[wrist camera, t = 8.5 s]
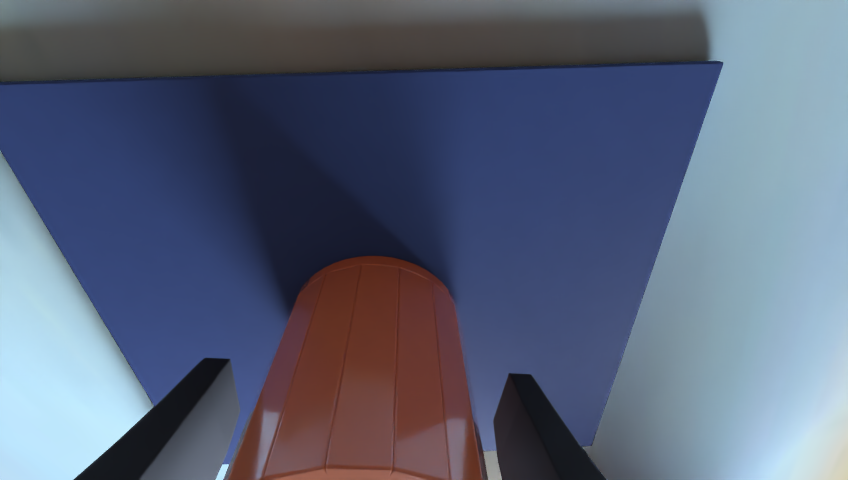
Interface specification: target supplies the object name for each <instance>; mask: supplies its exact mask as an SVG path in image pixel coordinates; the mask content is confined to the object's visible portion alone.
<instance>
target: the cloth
mask: <svg viewBox="0 0 848 480" xmlns="http://www.w3.org/2000/svg"><path fill="white" fill-rule="evenodd" d="M722 66H723V62H720V61H688V62H655V63H621V64H587V65H554V66H520V67H487V68H453V69H419V70H386V71H352V72H319V73H285V74H251V75H218V76H184V77H151V78H117V79H83V80H50V81H16V82H0V151H1V152H2V154H3V156H4V157H5V159H6V161H7V162H8V164H9V166H10V167H11V169H12V171H13V172H14V174H15V176H16V177H17V179H18V181H19V182H20V184H21V186H22V187H23V189H24V191H25V192H26V194H27V196H28V197H29V199H30V201H31V202H32V204H33V206H34V207H35V209H36V211H37V212H38V214H39V215H40V217H41V219H42V220H43V222H44V224H45V225H46V227H47V229H48V230H49V232H50V234H51V235H52V237H53V239H54V240H55V242H56V244H57V245H58V247H59V249H60V250H61V252H62V254H63V255H64V257H65V259H66V260H67V262H68V264H69V265H70V267H71V269H72V270H73V272H74V274H75V275H76V277H77V279H78V280H79V282H80V284H81V285H82V287H83V288H84V290H85V292H86V293H87V295H88V297H89V298H90V300H91V302H92V303H93V305H94V307H95V308H96V310H97V312H98V313H99V315H100V317H101V318H102V320H103V322H104V323H105V325H106V327H107V328H108V330H109V332H110V333H111V335H112V337H113V338H114V340H115V342H116V343H117V345H118V347H119V348H120V350H121V352H122V353H123V355H124V357H125V358H126V360H127V362H128V363H129V365H130V366H131V368H132V370H133V371H134V373H135V375H136V376H137V378H138V380H139V381H140V383H141V385H142V386H143V388H144V390H145V391H146V393H147V395H148V396H149V398H150V400H151V401H152V403H153V405H154V406H155V405H156V404H157V403H159V402H160V401H161V400H162V399H163V398H164V397H165V396H166V395H167V394H168V393H169V392H170V391H171V390H172V389H173V388H174V387H175V386H176V385H177V384H178V383H179V382H180V381H181V380H182V379H183V378H184V377H185V376H186V375H187V374H188V373H189V372H190V371H191V370H192V369H193V368H194V367H195V366H196V365H197V364H198V363H199V362H200V361H201V360H203V359H204V358H223V359H230V360H231V365H232V370H233V375H234V380H235V385H236V390H237V395H238V401H239V406H240V414H239V417H238V420H237V423H236V427H235V430H234V433H233V436H232V439H231V442H230V445H229V448H228V451H227V454H226V456H225V459H224V461H223V463H222V464H230V462H231V459H232V457H233V454H234V451H235V449H236V446H237V444H238V441H239V439H240V436H241V434H242V431H243V429H244V426H245V423H246V421H247V418H248V416H249V413H250V411H251V408H252V406H253V403H254V401H255V398H256V395H257V393H258V390H259V388H260V385H261V383H262V380H263V378H264V375H265V373H266V370H267V367H268V365H269V362H270V360H271V357H272V355H273V352H274V350H275V347H276V345H277V342H278V340H279V337H280V334H281V332H282V329H283V327H284V324H285V322H286V319H287V317H288V315H289V313H290V311H291V309H292V307H293V304H294V302H295V299H296V296H297V294H298V293H299V291H300V289H301V288H302V286H303V285H304V284H305V283H306V282H307V281H308V280H309V279H310V278H311V277H312V276H313V275H314V274H316V273H317V272H319V271H320V270H322V269H323V268H325V267H327V266H329V265H331V264H333V263H336V262H339V261H342V260H345V259H349V258H354V257H360V256H386V257H393V258H397V259H401V260H405V261H408V262H411V263H413V264H416V265H418V266H420V267H422V268H424V269H426V270H427V271H429V272H430V273H432V274H433V275H434V276H436V277H437V278H438V279H439V280H440V281H441V282H442V283H443V284H444V285H445V286H446V288H447V289H448V290H449V292H450V293H451V295H452V297H453V298H454V301H455V303H456V306H457V310H458V315H459V320H460V324H461V327H462V332H463V338H464V343H465V349H466V355H467V361H468V367H469V372H470V378H471V384H472V390H473V396H474V401H475V407H476V413H477V419H478V425H479V430H480V436H481V442H482V448H483V451H497V449H496V442H495V433H494V425H493V419H494V416H495V413H496V410H497V407H498V404H499V401H500V398H501V395H502V392H503V389H504V386H505V383H506V380H507V377H508V374H509V373H516V374H531V375H532V376H533V377H534V379H535V380H536V382H537V383H538V385H539V386H540V388H541V389H542V391H543V392H544V394H545V395H546V397H547V398H548V400H549V401H550V403H551V404H552V406H553V407H554V408H555V410H556V411H557V413H558V414H559V416H560V417H561V419H562V420H563V421H564V423H565V424H566V426H567V427H568V429H569V430H570V431H571V433H572V434H573V436H574V437H575V438H576V440H577V441H578V442H579V444H580V445H581V446H592V443H593V440H594V437H595V434H596V431H597V428H598V426H599V423H600V420H601V417H602V414H603V411H604V408H605V405H606V402H607V399H608V397H609V394H610V391H611V388H612V385H613V382H614V379H615V376H616V373H617V370H618V368H619V365H620V362H621V359H622V356H623V353H624V350H625V347H626V344H627V341H628V339H629V336H630V333H631V330H632V327H633V324H634V321H635V318H636V315H637V312H638V310H639V307H640V304H641V301H642V298H643V295H644V292H645V289H646V286H647V283H648V281H649V278H650V275H651V272H652V269H653V266H654V263H655V260H656V257H657V254H658V252H659V249H660V246H661V243H662V240H663V237H664V234H665V231H666V228H667V225H668V223H669V220H670V217H671V214H672V211H673V208H674V205H675V202H676V199H677V196H678V194H679V191H680V188H681V185H682V182H683V179H684V176H685V173H686V170H687V167H688V165H689V162H690V159H691V156H692V153H693V150H694V147H695V144H696V141H697V138H698V136H699V133H700V130H701V127H702V124H703V121H704V118H705V115H706V112H707V109H708V107H709V104H710V101H711V98H712V95H713V92H714V89H715V86H716V83H717V80H718V78H719V75H720V72H721V69H722Z"/></svg>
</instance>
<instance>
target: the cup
mask: <svg viewBox="0 0 848 480" xmlns="http://www.w3.org/2000/svg"><path fill="white" fill-rule="evenodd" d="M223 480H488V477H487V471H486V465H485V459H484V454H483V448H482V442H481V436H480V430H479V425H478V419H477V413H476V407H475V401H474V396H473V390H472V384H471V378H470V372H469V367H468V361H467V355H466V349H465V343H464V338H463V332H462V327H461V324H460V320H459V315H458V310H457V306H456V303H455V301H454V298H453V297H452V295H451V293H450V292H449V290H448V289H447V288H446V286H445V285H444V284H443V283H442V282H441V281H440V280H439V279H438V278H437V277H436V276H434V275H433V274H432V273H430V272H429V271H427V270H426V269H424V268H422V267H420V266H418V265H416V264H413V263H411V262H408V261H405V260H401V259H397V258H393V257H386V256H360V257H354V258H349V259H345V260H342V261H339V262H336V263H333V264H331V265H329V266H327V267H325V268H323V269H322V270H320V271H319V272H317V273H316V274H314V275H313V276H312V277H311V278H310V279H309V280H308V281H307V282H306V283H305V284H304V285H303V286H302V288H301V289H300V291H299V293H298V294H297V296H296V299H295V302H294V304H293V307H292V309H291V311H290V313H289V315H288V317H287V319H286V322H285V324H284V327H283V329H282V332H281V334H280V337H279V340H278V342H277V345H276V347H275V350H274V352H273V355H272V357H271V360H270V362H269V365H268V367H267V370H266V373H265V375H264V378H263V380H262V383H261V385H260V388H259V390H258V393H257V395H256V398H255V401H254V403H253V406H252V408H251V411H250V413H249V416H248V418H247V421H246V423H245V426H244V429H243V431H242V434H241V436H240V439H239V441H238V444H237V446H236V449H235V451H234V454H233V457H232V459H231V462H230V464H229V467H228V469H227V472H226V474H225V477H224V479H223Z"/></svg>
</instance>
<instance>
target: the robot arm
mask: <svg viewBox="0 0 848 480" xmlns="http://www.w3.org/2000/svg"><path fill="white" fill-rule="evenodd" d="M239 414H240V406H239V401H238V395H237V390H236V385H235V380H234V375H233V370H232V365H231V360H230V359H223V358H204V359H203V360H201V361H200V362H199V363H198V364H197V365H196V366H195V367H194V368H193V369H192V370H191V371H190V372H189V373H188V374H187V375H186V376H185V377H184V378H183V379H182V380H181V381H180V382H179V383H178V384H177V385H176V386H175V387H174V388H173V389H172V390H171V391H170V392H169V393H168V394H167V395H166V396H165V397H164V398H163V399H162V400H161V401H160V402H159V403H157V404H156V405H155V406H154V407H153V408H152V409H151V410H150V411H149V412H148V413H147V414H146V415H145V416H144V417H143V418H142V419H141V420H140V421H138V422H137V423H136V424H135V425H134V426H133V427H132V428H131V429H130V430H129V431H128V432H127V433H126V434H125V435H123V436H122V437H121V438H120V439H119V440H118V441H117V442H116V443H115V444H114V445H113V446H111V447H110V448H109V449H108V450H107V451H106V452H105V453H103V454H102V455H101V456H100V457H99V458H98V459H97V460H95V461H94V462H93V463H92V464H91V465H90V466H89V467H87V468H86V469H85V470H84V471H83V472H82V473H81V474H79V475H78V476H77V477H76V478H75V479H74V480H215V479H216V477H217V475H218V472H219V470H220V468H221V466H222V463H223V461H224V459H225V456H226V454H227V451H228V448H229V445H230V442H231V439H232V436H233V433H234V430H235V427H236V423H237V420H238V417H239ZM493 425H494V433H495V442H496V449H497V457H498V463H499V467H500V472H501V476H502V480H606V478H605V477H604V476H603V474H602V473H601V472H600V471H599V469H598V468H597V467H596V465H595V464H594V463H593V461H592V460H591V459H590V457H589V456H588V455H587V453H586V452H585V451H584V449H583V448H582V447H581V445H580V444H579V442H578V441H577V440H576V438H575V437H574V436H573V434H572V433H571V431H570V430H569V429H568V427H567V426H566V424H565V423H564V421H563V420H562V419H561V417H560V416H559V414H558V413H557V411H556V410H555V408H554V407H553V406H552V404H551V403H550V401H549V400H548V398H547V397H546V395H545V394H544V392H543V391H542V389H541V388H540V386H539V385H538V383H537V382H536V380H535V379H534V377H533V376H532V375H531V374H516V373H509V374H508V377H507V380H506V383H505V386H504V389H503V392H502V395H501V398H500V401H499V404H498V407H497V410H496V413H495V416H494V419H493Z"/></svg>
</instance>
